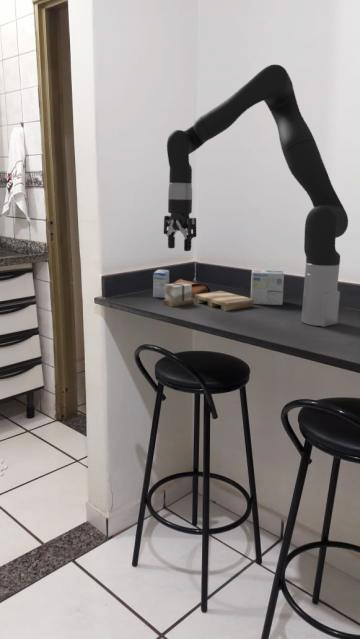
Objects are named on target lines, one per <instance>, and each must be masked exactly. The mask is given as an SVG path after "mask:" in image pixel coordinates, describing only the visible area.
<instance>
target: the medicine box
mask: <svg viewBox="0 0 360 639" xmlns="http://www.w3.org/2000/svg"><path fill="white" fill-rule="evenodd" d="M152 282H153V284H152V286H153V287H152V288H153V289H152V297H153V298H162V299H163V298H164V299H165V285H166V284H170V270H169V269H157V270H155V271H154V272H153V274H152Z"/></svg>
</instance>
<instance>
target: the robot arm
mask: <svg viewBox="0 0 360 639" xmlns="http://www.w3.org/2000/svg"><path fill="white" fill-rule="evenodd" d="M261 102H264V103H265V104H266V106H267V108H268V110H269V111H270V114H271V116H272V117H273V119H274V122H275V124H276V127H277V131H278V137H279V142H280V147H281V151H282V154H283V156H284V159H285V162H286V164H287V167H288V170H289V171H290V174H291V175H292V176H293V178H294V179H295V180H296V181H297V183H298V184H299V185H300V186H301V187H302V189H303V190H304V191H305V192H306V194H307V196H309V199H310V200H311V201H310V202H311V204H312V206H313V208H311V210H309V211H308V214H307V216H306V219H305V224H304V240H303V241H304V246H303V250H304V254H305V259H306V260H305V268H304V269H305V270H304V271H305V272H304V282H303V294H302V295H303V296H302V309H301V319H300V320H301V322H302V323H304V324H307V325H308V326H309V325H310V326H318V327H323V328H325V327H328V326H329V327H330V326H333V325H337V324H338V316H339V306H340V299H341V297H340V296H341V292H340V291H339V290H338V285H339V284H338V283H339V273H340V263H341V255H340V253H339V252H338V251H337V250H336V249H337V248H336V238H339V237H342V236H343V235H345V233H346V231H347V230H348V227H349V219H348V218H349V217H348V214H347V211H346V210H345V208H344V206H343V204H342V201H341V200H340V198H339V196H338V194H337V192H336V190H335V188H334V187H333V184H332V182H331V180H330V179H331V178H330V176H329V173H328V171H327V168H326V166H325V163H324V160H323V159H322V155H321V152H320V150H319V147H318V145H317V142H316V140H315V137H314V135H313V134H312V132H311V130H310V127H309V126H308V124H307V122H306V121H305V119H304V118H303V115H302V113H301V111H300V108H299V107H300V106H299V104H298V101H297V98H296V95H295V89H294V86H293V82H292V79H291V77H290V75H289V73H288V72H287V70H286V68H285V67H283V66H282V65H280V64H270V65H268V66H266V67H264V68H263V69H261V70H260V71H259V72H258V73H257V74H256V75H254V77H253V78H251V79H250V80H249V81H248V82H247V83H245V84H244V85H243V86H242V87H241V88H239V89H238V90H237V91H236V92H235V93H233V94H232V95H230V96H229V97H228V98H227V99H226V100H224V101H223V102H221V103H220V104H219V105H217V106H215V107H214V108H212V109H210V110H209V111H208V112H206V113H204V114H203V115H201V116H200V117H198V118H197V119H195V121H194V123H193V125H191V126H190V127H188V128H187V129H185V130H182V129H176V130H175V129H174V130H173V131H172V132H170V134H169V135H168V138H167V140H166V141H167V142H166V152H167V160H168V166H169V176H168V178H169V181H168V182H169V184H168V193H167V194H168V195H167V196H168V197H167V198H168V200H167V201H168V202H167V205H168V206H167V207H168V208H167V213H168V214H170V215H165V216H164V217H163V218H164V219H163V234H164V235H166V236H167V248H168V249H175V246H176V237H175V235H176V233H177V232H180V233H181V234H182V236H183V238H184V239H183V242H184V243H183V251H184V252H191V250H192V239H193V238H196V237H197V218H196V217H190V214H192V212H193V211H192V210H193V188H192V187H193V185H192V183H193V180H192V179H193V169H192V166H191V164H190V156H189V155H190V154H192V153H194V152H195V151H196V150H198V149H199V148H201V147H202V146H203V145H204V144H205V143H206V142H208V141H210V140H211V139H213V138H215V137H216V136H218V135H220V134H221V133H223V132H225V131H226V130H228V128H230V127H231V126H232V125H233V124H235V122H236V121H237V120H238V119H239V117H241V116H242V115H243V114H244V113H245V112H246V111H247V110H249V109H251V107H253V106H254V105H257V104H259V103H261Z"/></svg>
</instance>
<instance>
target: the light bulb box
mask: <svg viewBox="0 0 360 639" xmlns="http://www.w3.org/2000/svg"><path fill="white" fill-rule="evenodd" d="M284 279H285V273H284V271H283V270H269V269H268V270H267V269H265V270H264V269H262V270H261V269H259V270H258V269H252V270H251V279H250V298H252V299H254V302H253V304H252V305H273V306H275V305H276V306H282V305H283V300H284V283H285V282H284V281H285V280H284Z"/></svg>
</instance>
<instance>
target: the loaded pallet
mask: <svg viewBox="0 0 360 639" xmlns="http://www.w3.org/2000/svg"><path fill="white" fill-rule="evenodd" d="M191 288H192V285H190V284H186V283H174V282H172V283H169V284H166V285H165V298H164V299H162V305H165V306H168V307H172V308H173V306H174V307H179V306H185V305H193V304H194V303H195V298H192V297H191Z"/></svg>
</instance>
